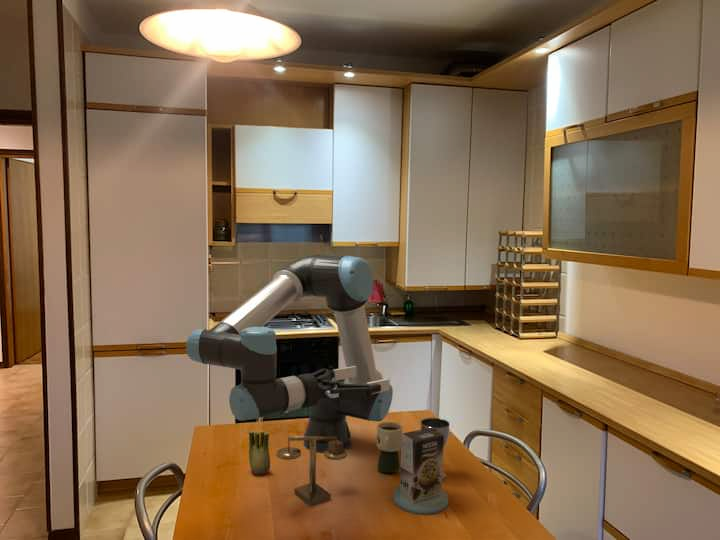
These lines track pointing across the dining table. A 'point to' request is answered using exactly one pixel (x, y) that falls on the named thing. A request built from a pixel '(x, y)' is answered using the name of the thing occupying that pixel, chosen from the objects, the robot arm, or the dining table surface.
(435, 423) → the wine glass
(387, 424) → the character mug
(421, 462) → the coffee box
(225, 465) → the dining table surface
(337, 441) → the balance
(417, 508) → the dish
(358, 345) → the robot arm
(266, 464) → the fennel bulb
